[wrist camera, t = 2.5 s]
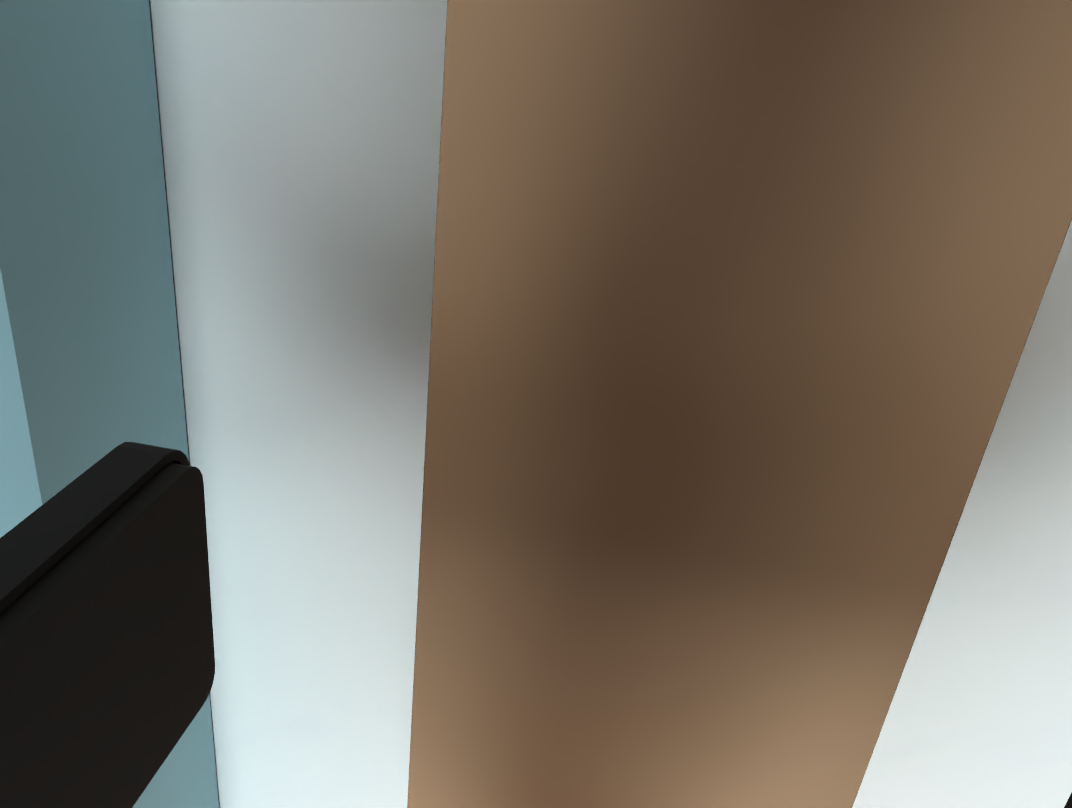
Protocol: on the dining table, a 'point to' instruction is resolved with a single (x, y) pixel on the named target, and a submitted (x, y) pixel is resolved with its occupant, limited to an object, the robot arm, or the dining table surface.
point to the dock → (87, 278)
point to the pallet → (714, 379)
